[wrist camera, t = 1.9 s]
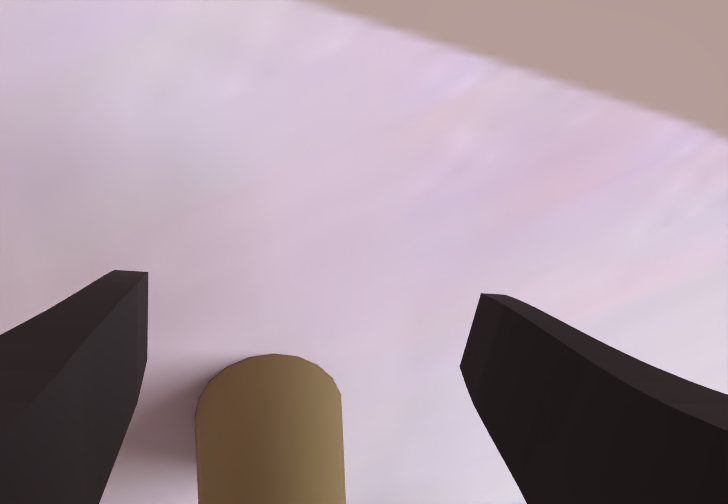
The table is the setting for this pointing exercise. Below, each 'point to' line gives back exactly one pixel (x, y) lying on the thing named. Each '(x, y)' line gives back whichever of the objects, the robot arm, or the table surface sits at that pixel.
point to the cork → (270, 434)
